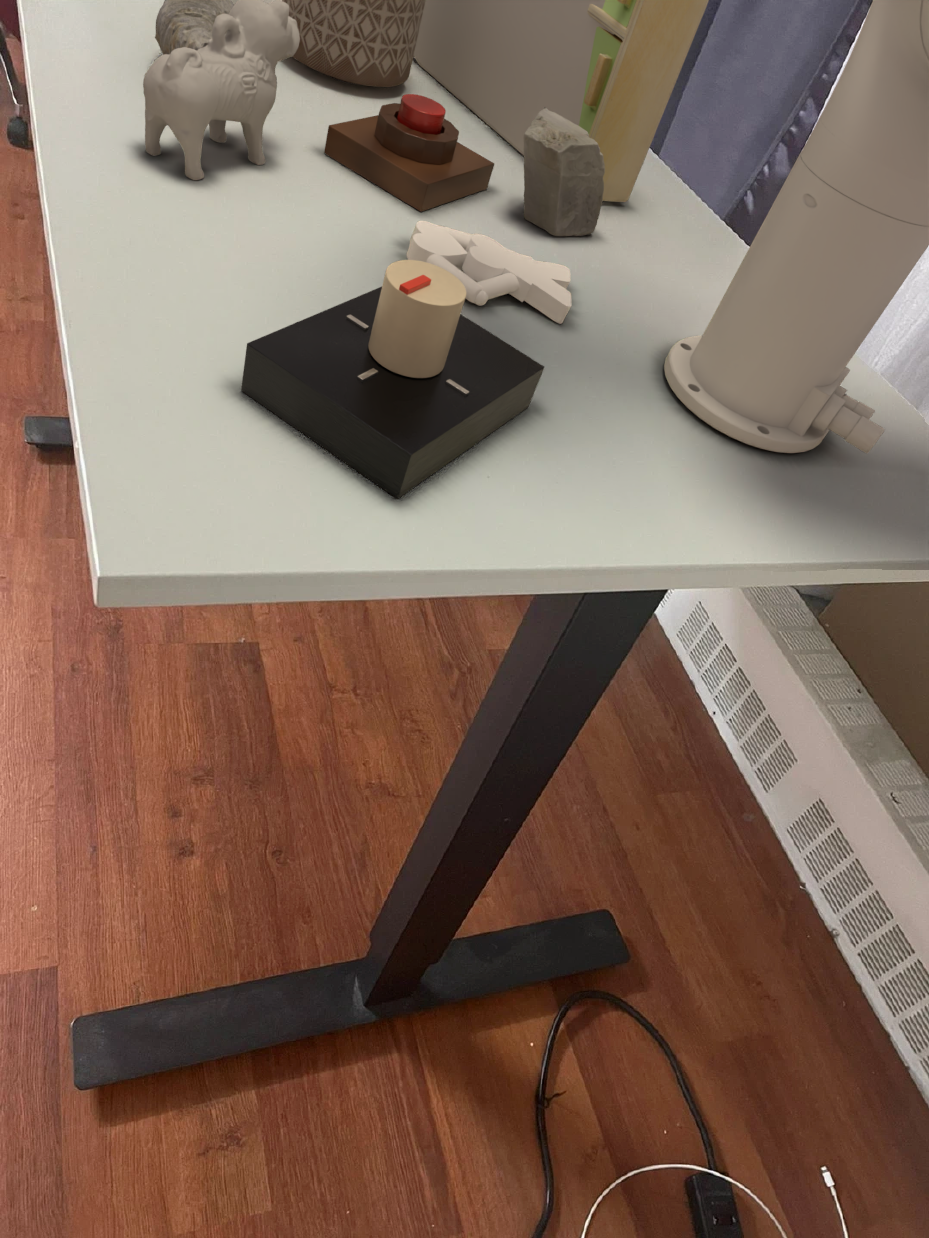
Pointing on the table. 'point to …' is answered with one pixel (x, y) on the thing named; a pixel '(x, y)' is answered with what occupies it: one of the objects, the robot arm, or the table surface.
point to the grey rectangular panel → (510, 57)
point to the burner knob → (416, 318)
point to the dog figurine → (220, 81)
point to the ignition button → (421, 114)
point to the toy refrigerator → (634, 80)
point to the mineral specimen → (562, 176)
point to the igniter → (409, 159)
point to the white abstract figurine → (493, 269)
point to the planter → (358, 38)
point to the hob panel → (386, 393)
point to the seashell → (188, 23)
